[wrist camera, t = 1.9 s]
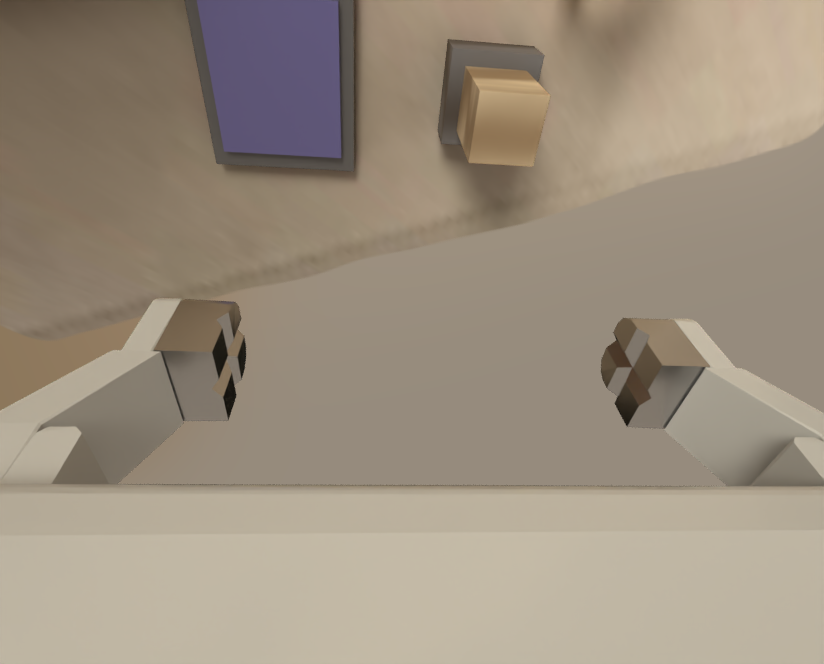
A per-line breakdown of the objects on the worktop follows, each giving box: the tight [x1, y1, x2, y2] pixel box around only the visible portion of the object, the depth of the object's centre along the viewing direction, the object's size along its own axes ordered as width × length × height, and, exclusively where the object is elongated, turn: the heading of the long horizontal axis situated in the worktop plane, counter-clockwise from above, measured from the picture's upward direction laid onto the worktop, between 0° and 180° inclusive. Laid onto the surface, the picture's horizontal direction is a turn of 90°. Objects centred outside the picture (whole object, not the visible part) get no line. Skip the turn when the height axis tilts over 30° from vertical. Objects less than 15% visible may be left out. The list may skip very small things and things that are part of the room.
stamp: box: [438, 39, 551, 166], centre depth 26 cm, size 5×5×7 cm
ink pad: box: [185, 0, 354, 171], centre depth 27 cm, size 10×8×2 cm
